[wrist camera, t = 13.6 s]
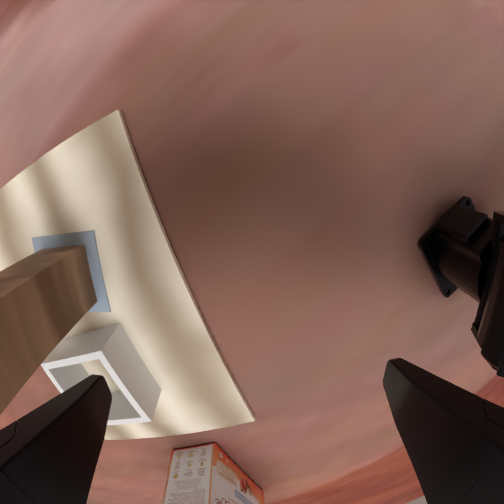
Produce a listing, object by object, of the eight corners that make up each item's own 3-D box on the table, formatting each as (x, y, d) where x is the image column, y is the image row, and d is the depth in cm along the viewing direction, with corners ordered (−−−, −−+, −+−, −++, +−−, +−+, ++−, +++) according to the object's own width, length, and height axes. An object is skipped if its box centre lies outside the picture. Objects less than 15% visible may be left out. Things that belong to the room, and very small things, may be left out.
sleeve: (120, 322, 21) (101, 350, 17) (161, 389, 23) (151, 421, 19) (61, 339, 22) (40, 364, 18) (101, 398, 24) (87, 426, 20)
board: (121, 110, 17) (116, 109, 17) (254, 416, 25) (254, 422, 24) (-21, 211, 19) (-27, 212, 18) (107, 436, 26) (105, 441, 26)
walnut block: (85, 244, 19) (-44, 330, 7) (97, 301, 20) (0, 414, 8) (41, 248, 19) (-78, 321, 7) (54, 301, 20) (-43, 394, 8)
